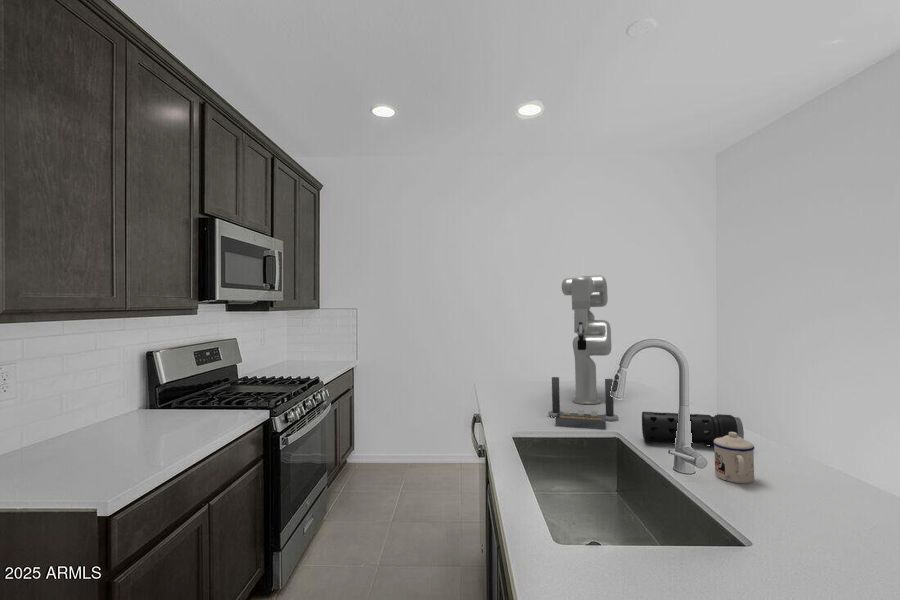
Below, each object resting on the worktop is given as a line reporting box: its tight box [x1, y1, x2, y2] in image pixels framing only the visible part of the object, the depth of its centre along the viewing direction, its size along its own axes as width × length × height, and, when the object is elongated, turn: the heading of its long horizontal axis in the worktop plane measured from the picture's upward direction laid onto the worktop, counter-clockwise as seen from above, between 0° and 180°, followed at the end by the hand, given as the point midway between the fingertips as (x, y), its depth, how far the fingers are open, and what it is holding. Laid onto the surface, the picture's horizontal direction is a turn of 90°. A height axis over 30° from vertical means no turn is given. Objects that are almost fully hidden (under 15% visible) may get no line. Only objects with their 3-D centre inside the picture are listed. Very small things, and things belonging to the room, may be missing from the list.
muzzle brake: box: [641, 411, 745, 446], centre depth 145 cm, size 10×28×10 cm, turn 72°
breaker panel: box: [554, 409, 607, 430], centre depth 172 cm, size 10×18×5 cm, turn 70°
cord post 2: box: [601, 378, 619, 422], centre depth 179 cm, size 6×6×16 cm
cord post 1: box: [547, 376, 564, 418], centre depth 186 cm, size 6×6×16 cm
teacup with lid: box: [713, 432, 755, 484], centre depth 115 cm, size 12×9×12 cm
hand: (582, 348), depth 191 cm, fingers open, 3 cm apart
